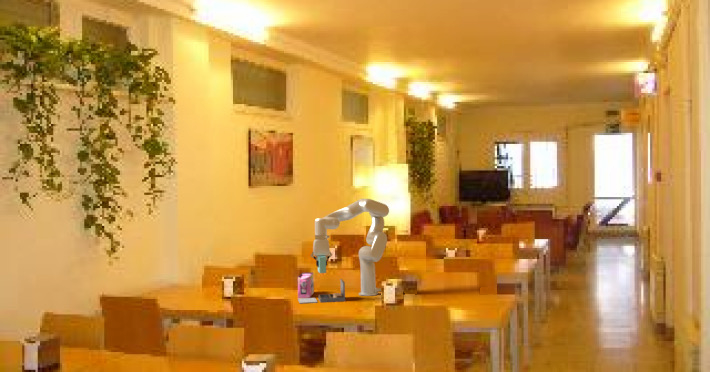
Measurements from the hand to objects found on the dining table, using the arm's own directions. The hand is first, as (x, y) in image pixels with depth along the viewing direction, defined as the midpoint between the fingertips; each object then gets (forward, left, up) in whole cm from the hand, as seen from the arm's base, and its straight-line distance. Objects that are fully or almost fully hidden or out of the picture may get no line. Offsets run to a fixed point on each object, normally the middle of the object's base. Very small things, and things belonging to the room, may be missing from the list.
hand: (321, 266), depth 513 cm
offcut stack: (-10, 0, -22) cm, 24 cm away
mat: (+10, 0, -21) cm, 23 cm away
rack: (-5, 0, -21) cm, 22 cm away
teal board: (0, 0, -3) cm, 3 cm away
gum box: (+9, -25, -22) cm, 34 cm away
